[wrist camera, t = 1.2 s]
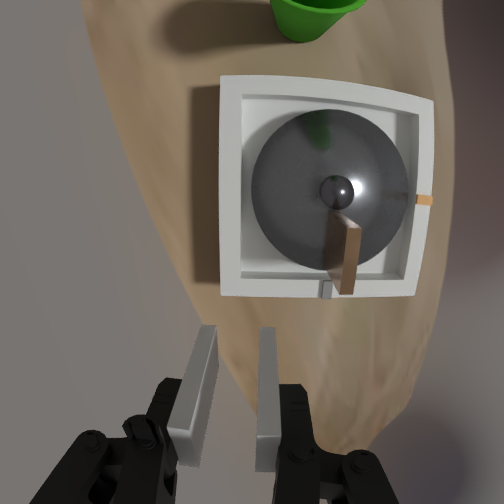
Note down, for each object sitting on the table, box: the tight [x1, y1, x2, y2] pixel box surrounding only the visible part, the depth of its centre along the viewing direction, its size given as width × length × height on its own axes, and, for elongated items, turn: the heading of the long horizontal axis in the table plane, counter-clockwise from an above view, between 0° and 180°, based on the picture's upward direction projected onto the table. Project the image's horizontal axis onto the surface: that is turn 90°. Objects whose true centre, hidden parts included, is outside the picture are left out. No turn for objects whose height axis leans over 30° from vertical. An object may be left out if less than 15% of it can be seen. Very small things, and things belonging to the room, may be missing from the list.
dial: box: [251, 109, 408, 295], centre depth 24 cm, size 16×16×8 cm
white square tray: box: [219, 75, 434, 299], centre depth 28 cm, size 22×22×4 cm
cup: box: [270, 0, 366, 42], centre depth 18 cm, size 9×9×11 cm
